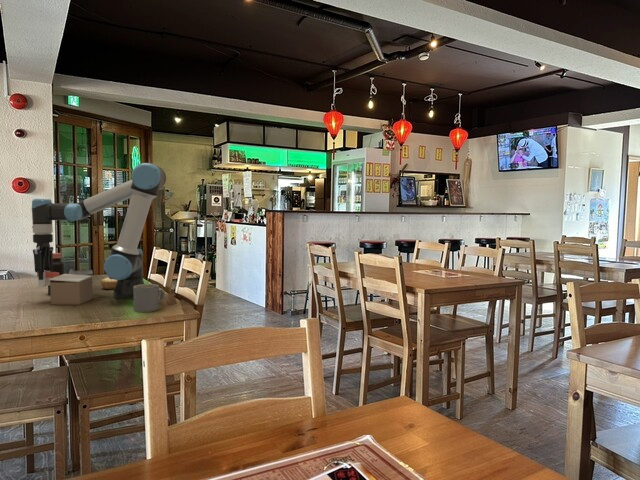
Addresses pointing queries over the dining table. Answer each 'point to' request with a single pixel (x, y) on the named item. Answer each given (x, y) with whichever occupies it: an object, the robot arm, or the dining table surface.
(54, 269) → the bottle
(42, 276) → the robot arm
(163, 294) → the coffee mug
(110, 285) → the pastry
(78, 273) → the food container
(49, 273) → the lid
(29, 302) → the dining table surface
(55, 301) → the carton
